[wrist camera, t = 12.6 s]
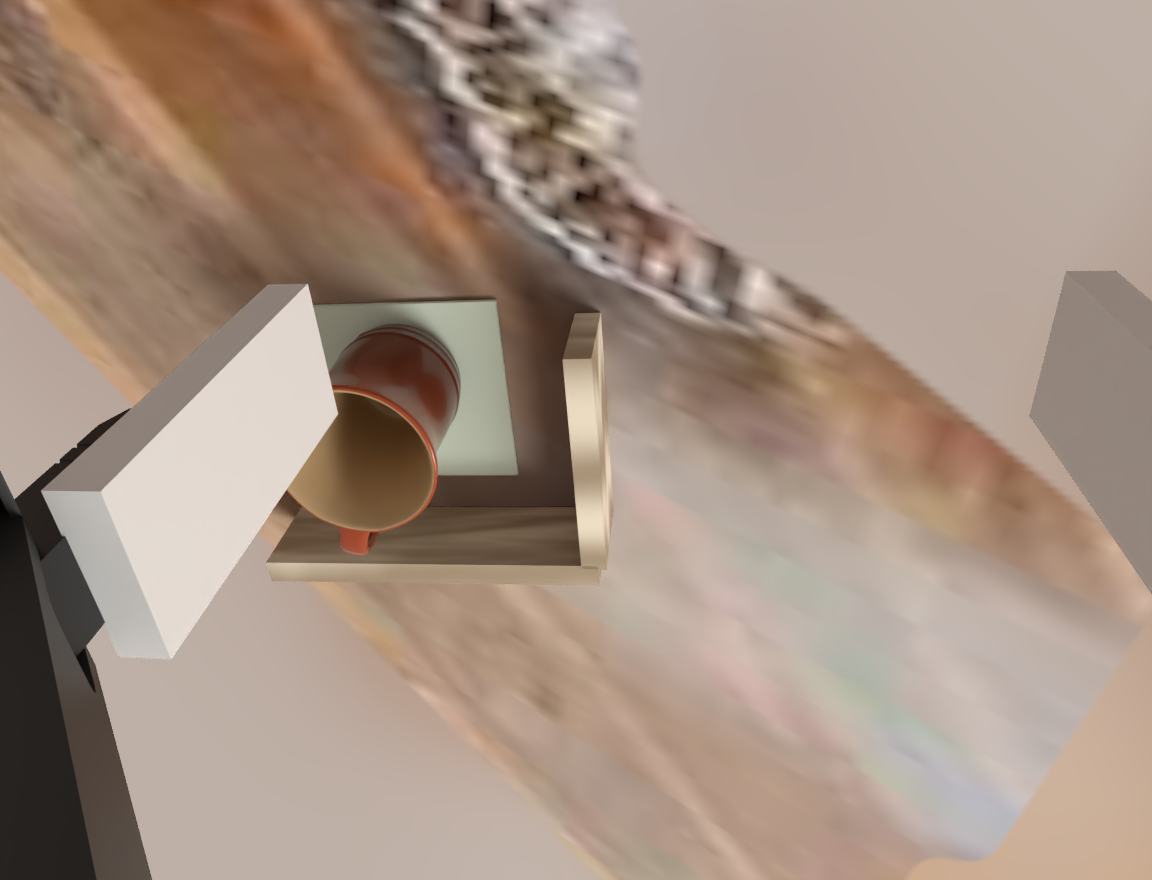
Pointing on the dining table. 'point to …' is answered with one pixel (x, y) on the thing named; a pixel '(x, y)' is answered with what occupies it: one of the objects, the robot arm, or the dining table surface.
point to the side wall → (589, 437)
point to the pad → (476, 345)
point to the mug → (381, 434)
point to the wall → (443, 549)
